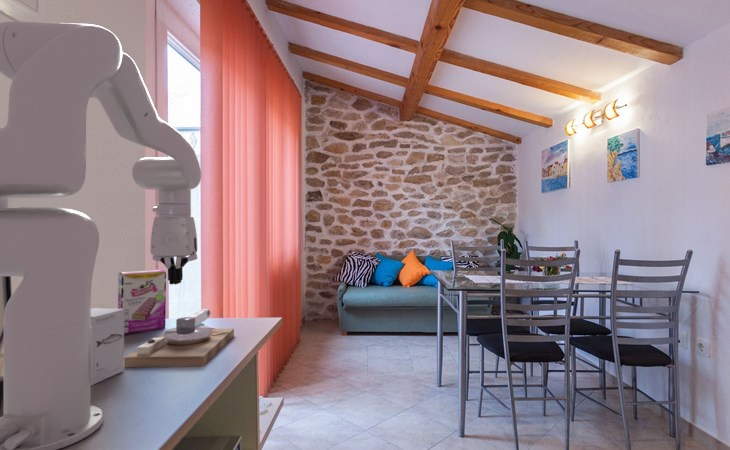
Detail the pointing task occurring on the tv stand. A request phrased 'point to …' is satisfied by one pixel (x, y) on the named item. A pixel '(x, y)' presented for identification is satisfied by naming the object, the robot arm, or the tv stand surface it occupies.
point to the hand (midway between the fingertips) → (175, 283)
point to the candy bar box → (142, 300)
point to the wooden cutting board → (178, 351)
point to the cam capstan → (189, 330)
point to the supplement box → (106, 343)
